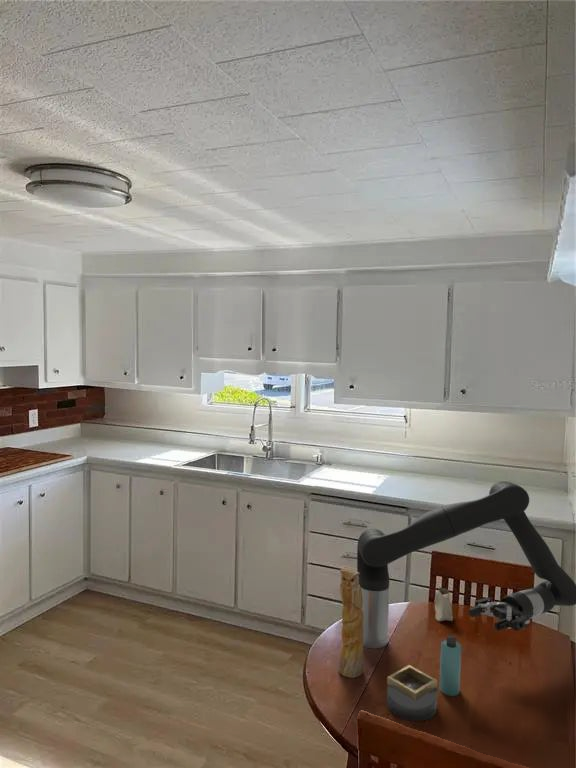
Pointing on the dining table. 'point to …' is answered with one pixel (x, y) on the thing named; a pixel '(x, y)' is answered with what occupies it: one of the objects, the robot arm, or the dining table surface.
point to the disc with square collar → (412, 694)
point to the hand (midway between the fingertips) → (482, 619)
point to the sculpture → (351, 625)
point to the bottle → (450, 666)
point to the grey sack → (443, 605)
